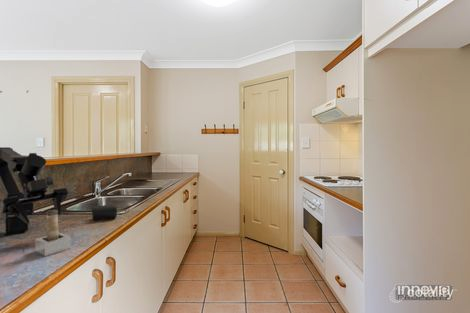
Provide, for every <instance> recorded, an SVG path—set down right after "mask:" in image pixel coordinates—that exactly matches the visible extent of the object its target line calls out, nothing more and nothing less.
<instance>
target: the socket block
mask: <svg viewBox="0 0 470 313" xmlns="http://www.w3.org/2000/svg"><path fill="white" fill-rule="evenodd" d="M58 237H59V239H55V240H52V241H48V242H47V235H46V236H42V237H38V238H35V240H34V241H35V252H36V253H38V254H40V255H42V256H44V257H48V256H49V255H53V254H57V253H59V252H60V253H61V252H63V251H66V250H69V249H71V248H72V246H71V236H70V235H68V234H66V233H63V232H58Z"/></svg>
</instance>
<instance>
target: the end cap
mask: <svg viewBox="0 0 470 313" xmlns="http://www.w3.org/2000/svg"><path fill="white" fill-rule="evenodd" d="M117 210H118V208H117V204H116V203H110V204H105V205H94V206H92V208H91V211H92V214H91V216H92V218H91V219H92V221H94V222H95V221H102V220H103V221H105V220H111V219H116V218H117V217H118V211H117Z"/></svg>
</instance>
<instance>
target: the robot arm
mask: <svg viewBox="0 0 470 313" xmlns="http://www.w3.org/2000/svg"><path fill="white" fill-rule="evenodd" d="M46 164H47V160H46V158H44V157H43V156H41V155H38V154H37V152H29V154H28V155H23V154H22V155H21V153H18V152H17V151H15V150H13V148H12V147H0V188H1V190H2V192H3V195H4V197H5V198H3V199H2V200H1V202H0V203H1V204H0V218H1V219H2V220H5V223H4V224H5V233H3V235H4V236H8V235H17V234H24V233H26V232H27V231H28V230H30V229H31V219H30V217H29V216H31V215H33V211H34V203H38V202H42V201H47V200H52V202H53V203H52V204H53V207H54V210H58V217H59V216H61V213H62V212H61V210H62V209H61V208H62V203H63V201H65V200H66V199H67V197H68V194H69V190H68V188H66V187H60V188H54V189H53V191H52V193H47V192H48V188H49V187H52V186H53V185H54V179H53V178H52V176H46V177H44V178H41V179H40V178H39V176H40V175H41V174H42V172H43V170H44V168H45V165H46ZM12 173H17V174H16V178H17V179H16V180H15V178H14V176H13V174H12ZM17 182H18V183H19V184H17ZM18 185H20V188H19V186H18ZM46 193H47V194H46Z"/></svg>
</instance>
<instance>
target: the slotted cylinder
mask: <svg viewBox="0 0 470 313" xmlns="http://www.w3.org/2000/svg"><path fill="white" fill-rule="evenodd" d="M45 212H46V213H45V214H46V216H45V217H46V236H47V242H48V241H52V240H55V239H59V237H58V233H59V218H58V217H59V215H58V210H55V209H50V210H46V211H45Z"/></svg>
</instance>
